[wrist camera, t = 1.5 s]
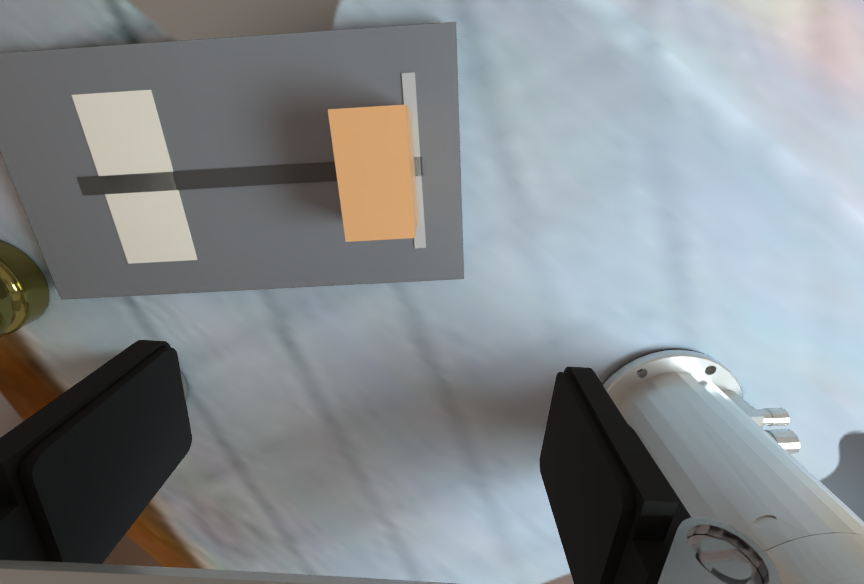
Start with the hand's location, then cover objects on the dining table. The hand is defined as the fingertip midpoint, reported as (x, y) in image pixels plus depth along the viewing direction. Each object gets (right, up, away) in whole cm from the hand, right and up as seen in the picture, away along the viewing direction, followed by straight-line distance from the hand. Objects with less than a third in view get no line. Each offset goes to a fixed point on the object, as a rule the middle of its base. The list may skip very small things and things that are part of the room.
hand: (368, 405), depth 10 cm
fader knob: (-2, +11, +17) cm, 20 cm away
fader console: (-12, +11, +19) cm, 25 cm away
